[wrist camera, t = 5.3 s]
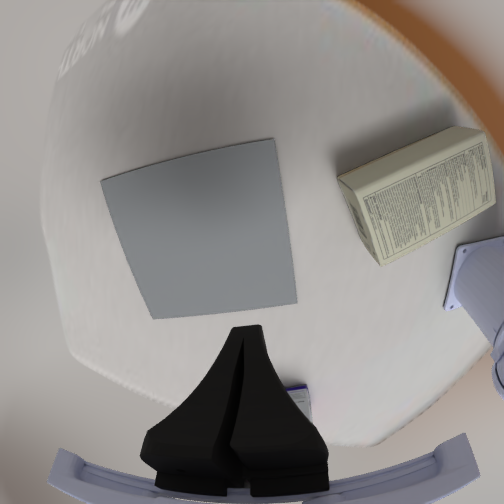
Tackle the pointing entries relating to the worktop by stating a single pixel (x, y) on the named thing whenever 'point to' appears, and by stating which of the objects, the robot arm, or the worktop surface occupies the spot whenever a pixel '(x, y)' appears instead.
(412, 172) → the skincare box
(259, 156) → the rubber mat
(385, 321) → the worktop surface
